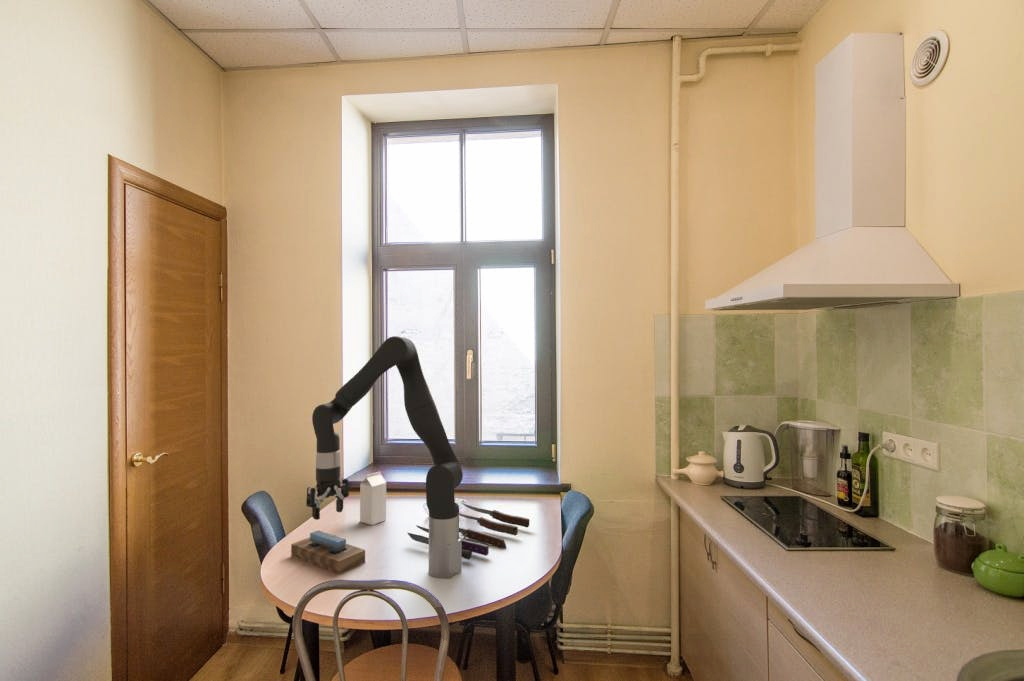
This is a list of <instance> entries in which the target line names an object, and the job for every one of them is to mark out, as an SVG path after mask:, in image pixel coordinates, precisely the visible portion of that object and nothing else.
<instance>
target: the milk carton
mask: <svg viewBox="0 0 1024 681" xmlns="http://www.w3.org/2000/svg"><path fill="white" fill-rule="evenodd" d="M359 485H360V486H359V488H360V491H359V500H360V501H359V522H360V523H363V524H365V525H369V526H374V525H377V524H379V523H382V522H384V521H386V520H387V481H386V480H385V478H384V477H383V476H382V472H381V470H380V471H377V472H372V473H368V474H365V478H364V479H363V480H362V481H361V483H360V484H359Z"/></svg>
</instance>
